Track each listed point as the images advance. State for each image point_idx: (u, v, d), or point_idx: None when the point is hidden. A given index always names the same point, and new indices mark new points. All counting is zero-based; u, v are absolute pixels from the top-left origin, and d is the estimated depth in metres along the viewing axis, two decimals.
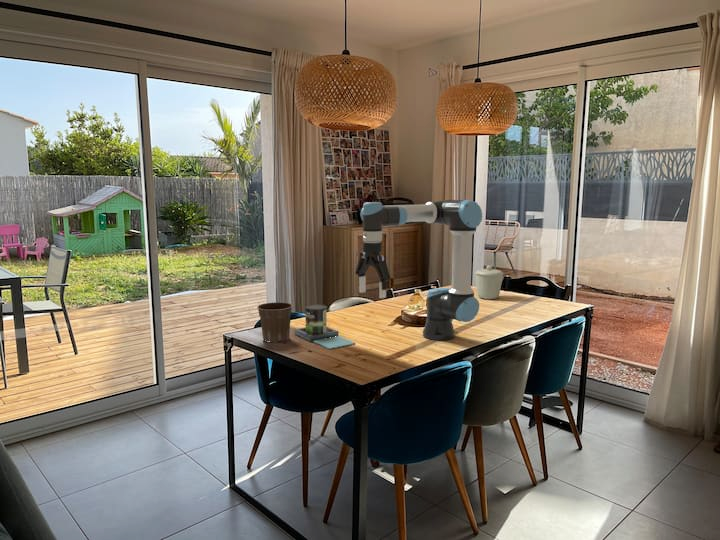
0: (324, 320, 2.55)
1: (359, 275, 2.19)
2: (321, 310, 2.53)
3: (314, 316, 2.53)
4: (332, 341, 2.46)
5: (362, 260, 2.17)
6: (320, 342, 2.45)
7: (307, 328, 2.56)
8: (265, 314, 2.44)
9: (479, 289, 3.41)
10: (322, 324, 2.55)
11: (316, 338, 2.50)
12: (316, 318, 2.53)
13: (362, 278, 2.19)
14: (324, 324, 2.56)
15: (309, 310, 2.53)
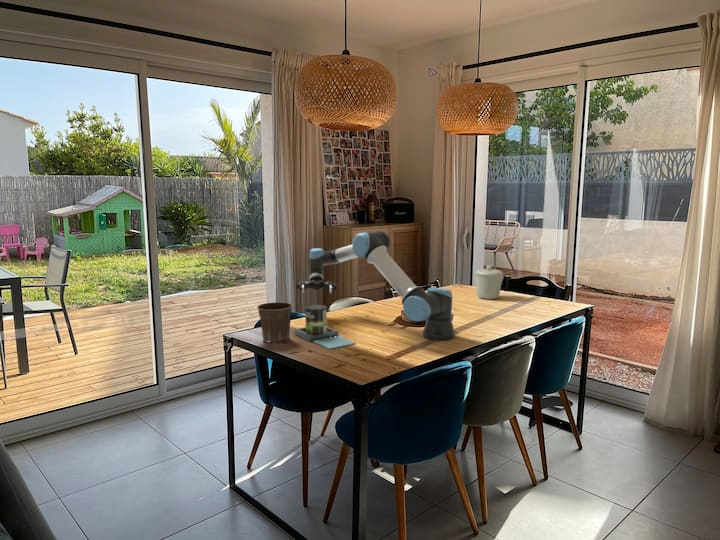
0: (324, 320, 2.55)
1: None
2: (321, 310, 2.53)
3: (314, 316, 2.53)
4: (332, 341, 2.46)
5: None
6: (320, 342, 2.45)
7: (307, 328, 2.56)
8: (265, 314, 2.44)
9: (479, 289, 3.41)
10: (322, 324, 2.55)
11: (316, 338, 2.50)
12: (316, 318, 2.53)
13: None
14: (324, 324, 2.56)
15: (309, 310, 2.53)
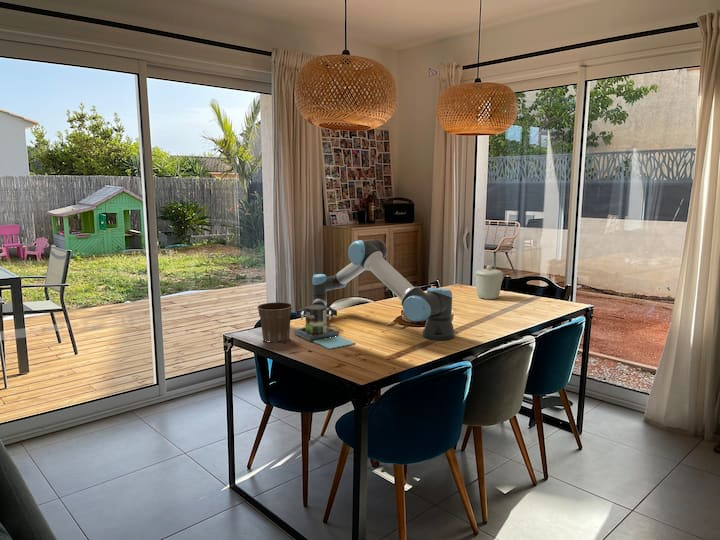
0: (324, 320, 2.55)
1: None
2: (321, 310, 2.53)
3: (314, 316, 2.53)
4: (332, 341, 2.46)
5: None
6: (320, 342, 2.45)
7: (307, 328, 2.56)
8: (265, 314, 2.44)
9: (479, 289, 3.41)
10: (322, 324, 2.55)
11: (316, 338, 2.50)
12: (316, 318, 2.53)
13: None
14: (324, 324, 2.56)
15: (309, 310, 2.53)
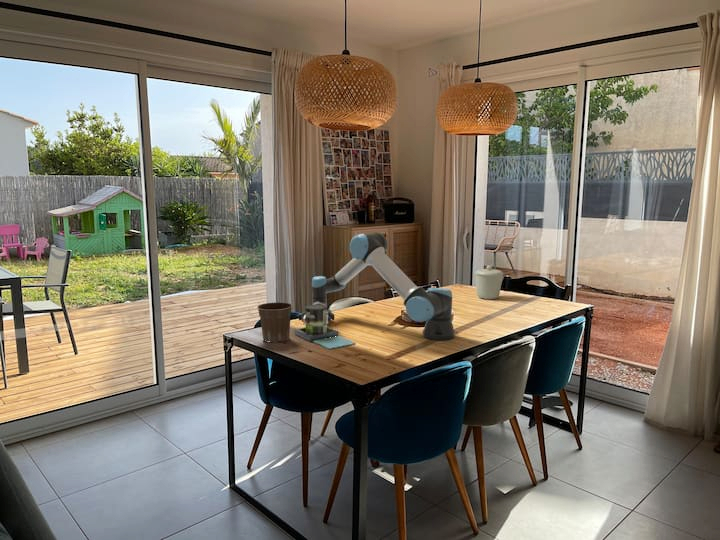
0: (324, 320, 2.55)
1: None
2: (321, 310, 2.53)
3: (314, 316, 2.53)
4: (332, 341, 2.46)
5: None
6: (320, 342, 2.45)
7: (307, 328, 2.56)
8: (265, 314, 2.44)
9: (479, 289, 3.41)
10: (322, 324, 2.55)
11: (316, 338, 2.50)
12: (316, 318, 2.53)
13: None
14: (324, 324, 2.56)
15: (309, 310, 2.53)
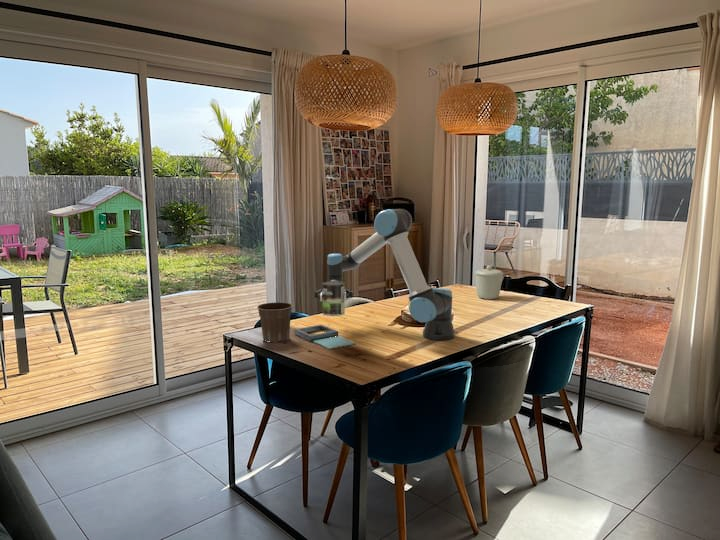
0: (342, 297, 2.41)
1: None
2: (339, 286, 2.38)
3: (332, 293, 2.38)
4: (332, 341, 2.46)
5: None
6: (320, 342, 2.45)
7: (324, 305, 2.41)
8: (265, 314, 2.44)
9: (479, 289, 3.41)
10: (340, 301, 2.40)
11: (316, 338, 2.50)
12: (334, 294, 2.38)
13: None
14: (342, 301, 2.41)
15: (326, 286, 2.38)
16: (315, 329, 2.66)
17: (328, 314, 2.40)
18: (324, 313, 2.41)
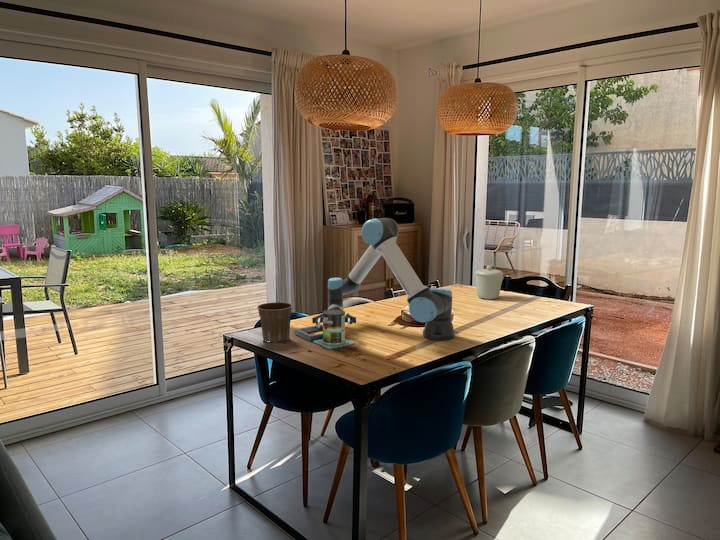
0: (342, 326, 2.42)
1: None
2: (340, 315, 2.40)
3: (332, 322, 2.40)
4: None
5: None
6: (320, 342, 2.45)
7: (325, 334, 2.43)
8: (265, 314, 2.44)
9: (479, 289, 3.41)
10: (341, 330, 2.42)
11: (316, 338, 2.50)
12: (334, 323, 2.40)
13: None
14: (342, 330, 2.43)
15: (327, 315, 2.40)
16: (315, 329, 2.66)
17: (328, 343, 2.42)
18: (324, 342, 2.43)
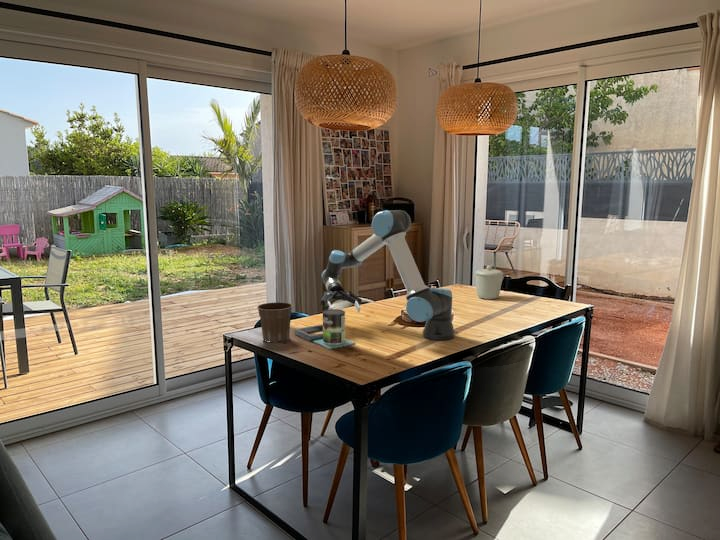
0: (342, 326, 2.42)
1: None
2: (339, 315, 2.40)
3: (332, 322, 2.40)
4: None
5: (350, 297, 2.65)
6: (320, 342, 2.45)
7: (325, 334, 2.43)
8: (265, 314, 2.44)
9: (479, 289, 3.41)
10: (341, 330, 2.42)
11: (316, 338, 2.50)
12: (334, 323, 2.40)
13: (355, 304, 2.59)
14: (342, 330, 2.43)
15: (327, 315, 2.40)
16: (315, 329, 2.66)
17: (328, 343, 2.42)
18: (324, 342, 2.43)
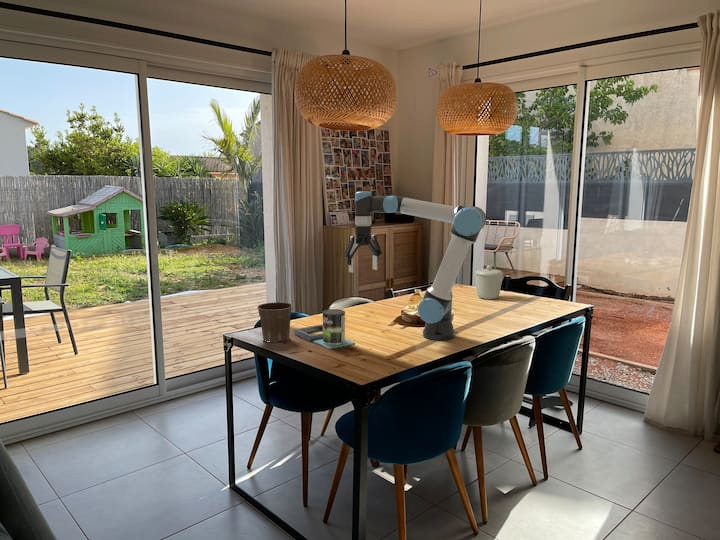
0: (342, 326, 2.42)
1: (374, 254, 2.56)
2: (339, 315, 2.40)
3: (332, 322, 2.40)
4: None
5: (373, 241, 2.54)
6: (320, 342, 2.45)
7: (325, 334, 2.43)
8: (265, 314, 2.44)
9: (479, 289, 3.41)
10: (341, 330, 2.42)
11: (316, 338, 2.50)
12: (334, 323, 2.40)
13: (374, 257, 2.55)
14: (342, 330, 2.43)
15: (327, 315, 2.40)
16: (315, 329, 2.66)
17: (328, 343, 2.42)
18: (324, 342, 2.43)
